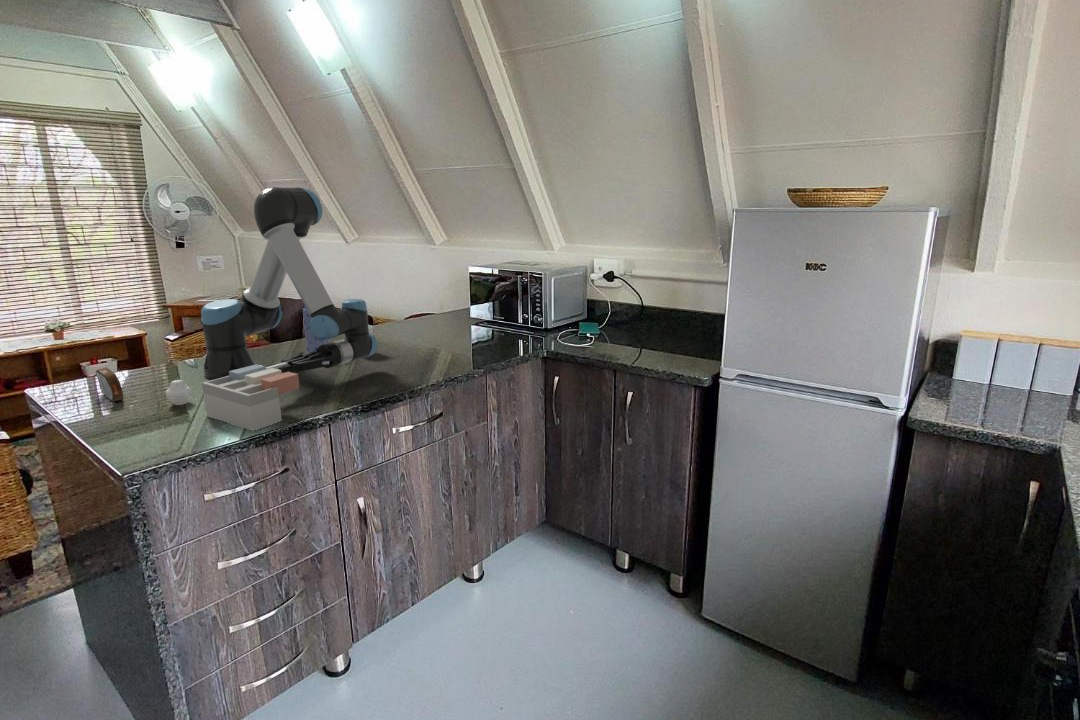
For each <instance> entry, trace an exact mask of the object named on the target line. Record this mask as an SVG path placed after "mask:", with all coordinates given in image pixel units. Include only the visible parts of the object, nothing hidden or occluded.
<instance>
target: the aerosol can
mask: <svg viewBox="0 0 1080 720" xmlns="http://www.w3.org/2000/svg"><path fill="white" fill-rule="evenodd" d="M302 316H303V325H304V335H305V343H306V344H305V345H306V354H309V353H310V352H314V351H315V352H316V351H317V349H318V347H319V346H320V345H323V344H327V343H329V339H327V340H319V339H317V338H315V337H314V336H313V335H312V333H311V332H310V326H309V324H310V321H311V319H312V317H311V315H310V313H309V312H308V310H307V308H306V306H305V305H304V307H302Z"/></svg>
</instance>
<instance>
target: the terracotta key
mask: <svg viewBox="0 0 1080 720" xmlns="http://www.w3.org/2000/svg"><path fill="white" fill-rule="evenodd" d="M261 383H262V391H263V390H267V389H270V388H274V387H278V395H279V396H280V395H283V394H287V393H289V392H293V391H297V390H299V389H300V388H301V387H300V380H299V373H297V372H296V373H295V372H290V371H289V372H286V373H282V374H279V375H275V376H272V377H268V378H264V379H261Z"/></svg>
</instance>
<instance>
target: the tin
mask: <svg viewBox="0 0 1080 720" xmlns="http://www.w3.org/2000/svg"><path fill="white" fill-rule="evenodd" d="M95 376H96V378H97V382H98V386H99V388H100V391H101V393H102V395H103V396H104V397H105V398H107V399H108V401H110V402H111V401H112V403H115V401H116V402H118V401H124V392H123V391H124V390H123V388H122V385H121V382H120V380H119V378H118V376H117V374H116V373H115V372H114V371H113V370H111V368H108V367H104V368H103V367H102V368H100V369H96V371H95Z"/></svg>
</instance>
